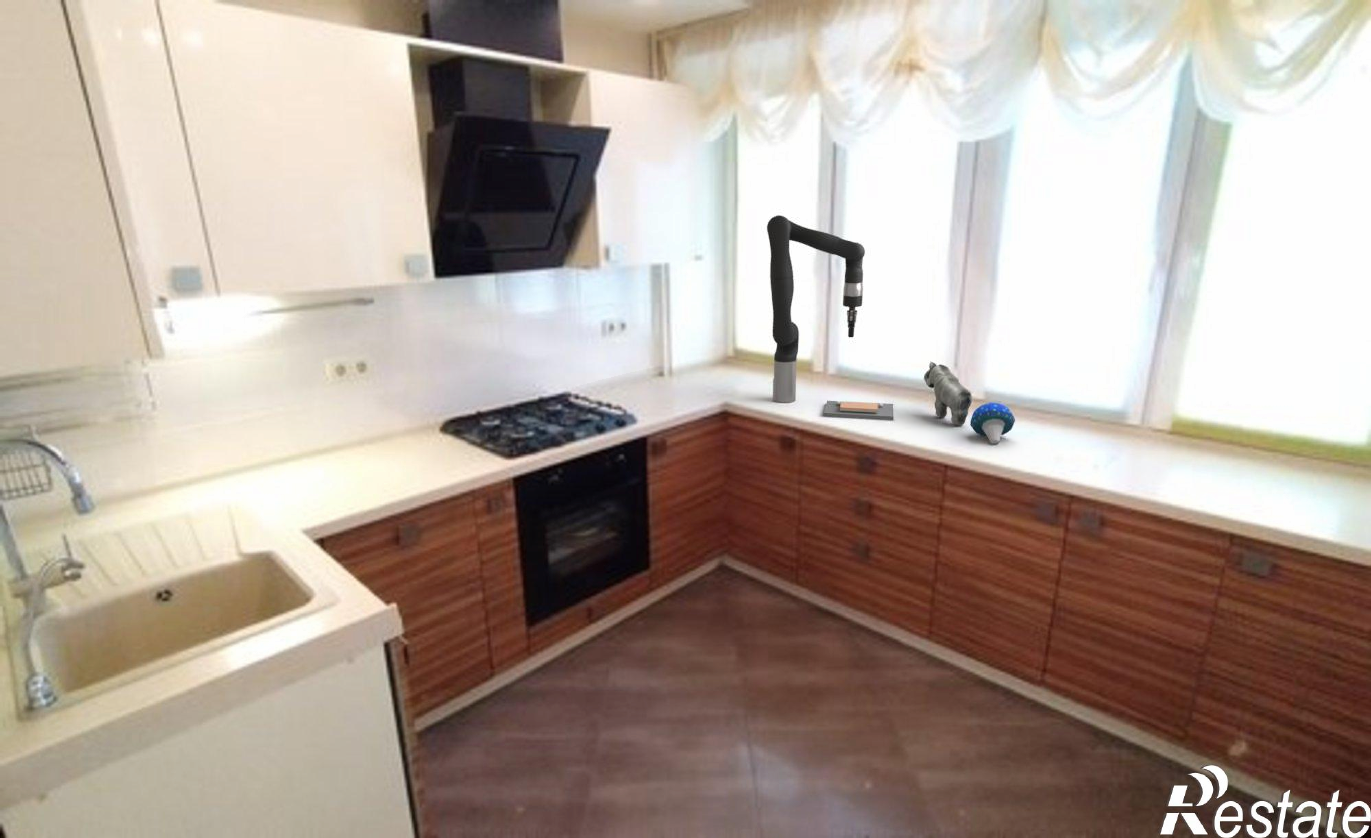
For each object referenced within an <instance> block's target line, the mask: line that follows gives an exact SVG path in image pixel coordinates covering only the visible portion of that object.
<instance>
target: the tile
mask: <svg viewBox="0 0 1371 838" xmlns="http://www.w3.org/2000/svg"><path fill="white" fill-rule="evenodd" d="M840 401H841V400H840ZM878 403H879V402H865V403H862V402H861V401H845V402H842V401H841V405H840V411H851V412H870V413H877V409H878Z"/></svg>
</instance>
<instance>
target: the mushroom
mask: <svg viewBox="0 0 1371 838" xmlns="http://www.w3.org/2000/svg"><path fill="white" fill-rule="evenodd" d="M1015 422H1016V418H1015V416H1014V414H1013V413H1012V411H1011V409H1010V408H1009V407H1007V406H1006V405H1004V404H1001V403H999V402H988V403H985V404H981V405H980V406H979V407H977V408H976V409H974V411H973V413H972V415H971V418H970V423H969V424H970V425H969V426H970V427H971V429H973V431H974V433H976V434H978V435H980V436H982V437H986V438H988V439H989V442H990V444H991V445H998V444H999V443H1000V439H1001V437H1002V436H1003V435H1006V434H1007V433H1009V432H1010V431H1012V429H1013V427H1014V424H1015Z"/></svg>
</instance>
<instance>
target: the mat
mask: <svg viewBox="0 0 1371 838" xmlns="http://www.w3.org/2000/svg"><path fill="white" fill-rule="evenodd" d="M842 402H846V401H842ZM862 403H866V402H864V401H863V402H862ZM877 403H878V409H877V413H870V412H851V411H840V405H841V400H826V404H825V408H824V411H823V417H824V418H826V417H827V418H844V419H845V418H846V419H860V420H863V419H864V420H878V421H879V420H880V421H894V417H895V415H894V403H885V402H884V403H881V402H877Z"/></svg>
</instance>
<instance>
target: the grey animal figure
mask: <svg viewBox="0 0 1371 838" xmlns="http://www.w3.org/2000/svg"><path fill="white" fill-rule="evenodd" d="M928 367H929V369H928V370H927V371H926V372H925V373H924V376H923V380H924V382H925V384H926V385H927V387H929V388H931V389H933V392H934V396H935V402H934V409H935V415H936V417H938V418H940V419H941V418H945V417H947V414H948V408H949V409H950V413H951V418H950V421H951V423H952V424H953V425H954V426H957V427H961V426H963V425H965V423H966V419H967V417H968V415H969V409H970V407H971V405H972V401H973V395H972V392H971V391H970V390H969V389H968V388H966V386H964V385H963V384H962V383H961V381H960V379H959V378H958V376H957V375H955V374H954V373H953V372H952V371H951V369H950V368H949V367H948V366H946V365H944V364H938V365H937V363H935V362H933V361H930V362H929V366H928Z"/></svg>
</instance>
